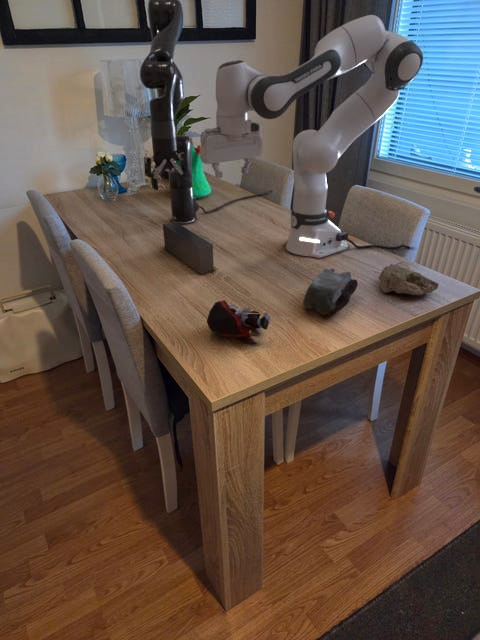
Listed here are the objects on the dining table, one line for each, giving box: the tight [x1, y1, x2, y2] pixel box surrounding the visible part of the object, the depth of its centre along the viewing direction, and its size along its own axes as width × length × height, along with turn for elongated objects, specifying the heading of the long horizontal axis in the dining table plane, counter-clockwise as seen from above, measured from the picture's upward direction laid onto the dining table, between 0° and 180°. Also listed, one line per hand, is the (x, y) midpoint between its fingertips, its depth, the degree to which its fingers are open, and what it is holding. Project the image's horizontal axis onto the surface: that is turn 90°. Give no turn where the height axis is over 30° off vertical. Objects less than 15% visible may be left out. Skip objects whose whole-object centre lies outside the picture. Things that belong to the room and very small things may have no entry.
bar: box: [162, 221, 214, 275], centre depth 150 cm, size 26×5×9 cm, turn 34°
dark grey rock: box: [302, 268, 359, 317], centre depth 123 cm, size 18×11×8 cm, turn 152°
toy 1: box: [168, 137, 212, 200], centre depth 210 cm, size 20×20×25 cm
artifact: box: [378, 261, 439, 296], centre depth 132 cm, size 18×7×15 cm
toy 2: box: [206, 299, 271, 345], centre depth 109 cm, size 12×9×15 cm
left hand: (168, 187), depth 147 cm, fingers open, 8 cm apart
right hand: (232, 175), depth 134 cm, fingers open, 8 cm apart
